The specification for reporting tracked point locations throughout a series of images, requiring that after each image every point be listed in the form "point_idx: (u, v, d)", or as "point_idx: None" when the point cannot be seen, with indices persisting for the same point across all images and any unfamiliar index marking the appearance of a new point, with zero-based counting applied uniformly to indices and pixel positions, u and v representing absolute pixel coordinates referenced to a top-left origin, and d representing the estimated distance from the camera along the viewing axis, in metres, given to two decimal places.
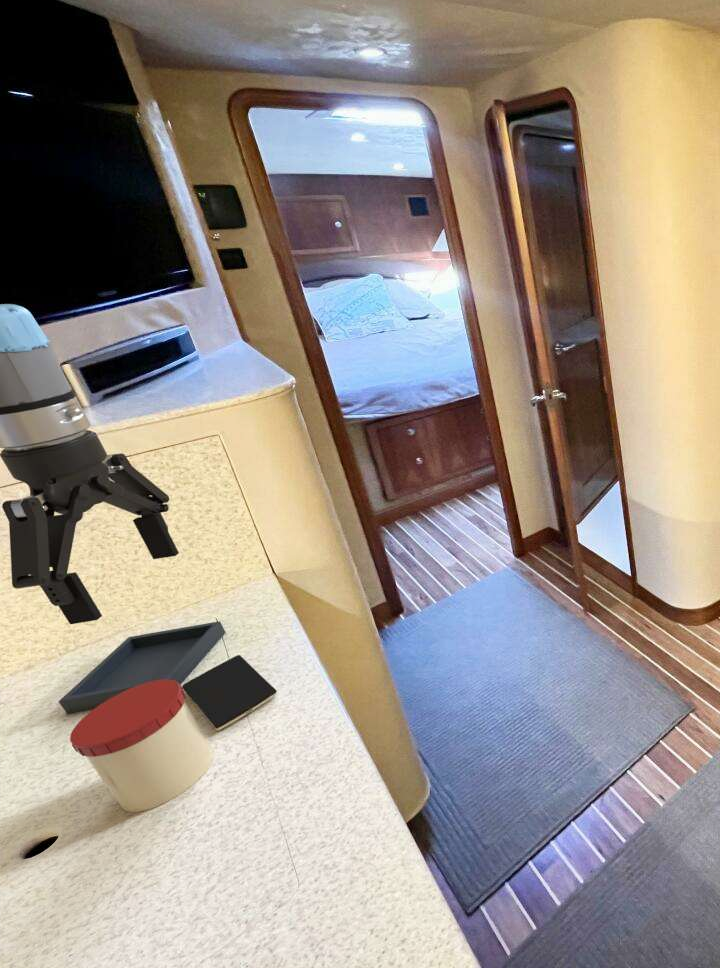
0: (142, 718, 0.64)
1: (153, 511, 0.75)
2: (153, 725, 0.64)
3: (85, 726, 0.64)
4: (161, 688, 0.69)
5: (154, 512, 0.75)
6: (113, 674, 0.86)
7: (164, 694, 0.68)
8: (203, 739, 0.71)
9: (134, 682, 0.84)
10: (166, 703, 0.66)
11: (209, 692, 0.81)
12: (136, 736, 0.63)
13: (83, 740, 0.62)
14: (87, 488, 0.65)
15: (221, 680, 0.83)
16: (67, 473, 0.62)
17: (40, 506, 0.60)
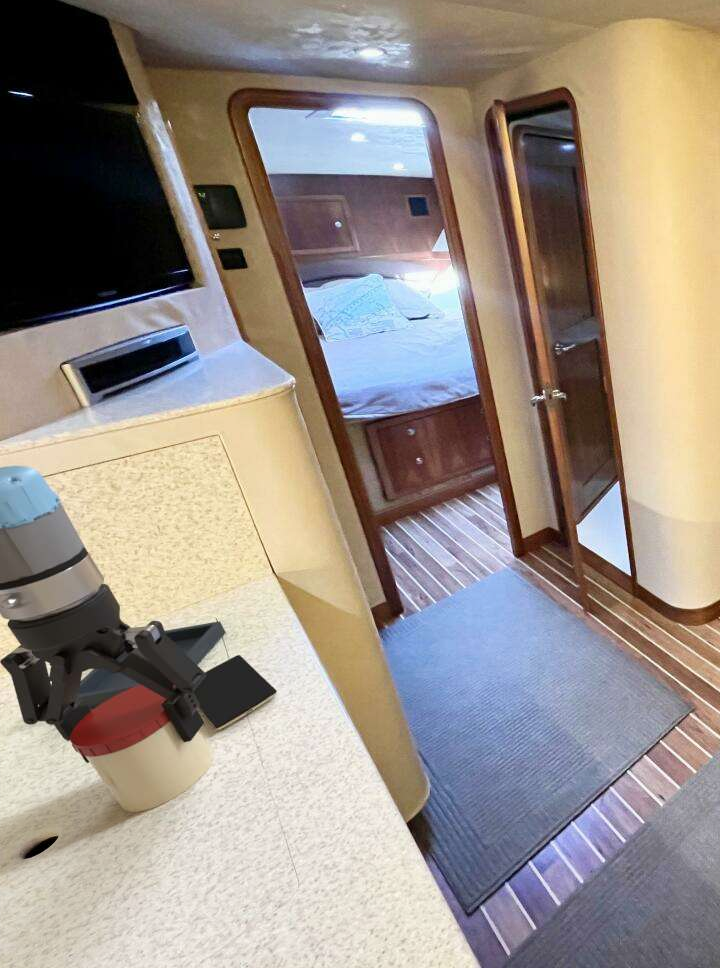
0: (142, 718, 0.64)
1: (165, 696, 0.65)
2: (153, 725, 0.64)
3: (85, 726, 0.64)
4: None
5: None
6: (113, 674, 0.86)
7: None
8: (203, 739, 0.71)
9: (134, 682, 0.84)
10: None
11: (209, 692, 0.81)
12: (136, 736, 0.63)
13: (83, 740, 0.62)
14: (61, 659, 0.60)
15: (221, 680, 0.83)
16: None
17: (15, 665, 0.59)
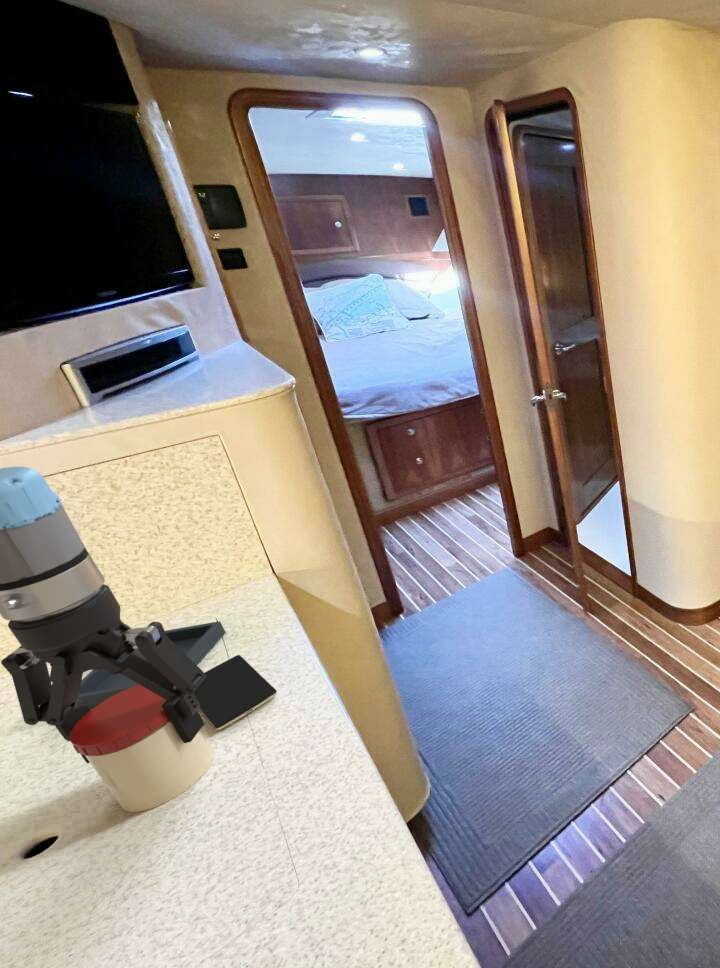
0: None
1: (165, 697, 0.65)
2: None
3: (124, 728, 0.63)
4: (104, 706, 0.66)
5: None
6: (113, 674, 0.86)
7: (122, 697, 0.67)
8: (203, 739, 0.71)
9: (134, 682, 0.84)
10: None
11: (209, 692, 0.81)
12: None
13: (155, 712, 0.65)
14: (61, 660, 0.60)
15: (221, 680, 0.83)
16: None
17: (15, 666, 0.59)
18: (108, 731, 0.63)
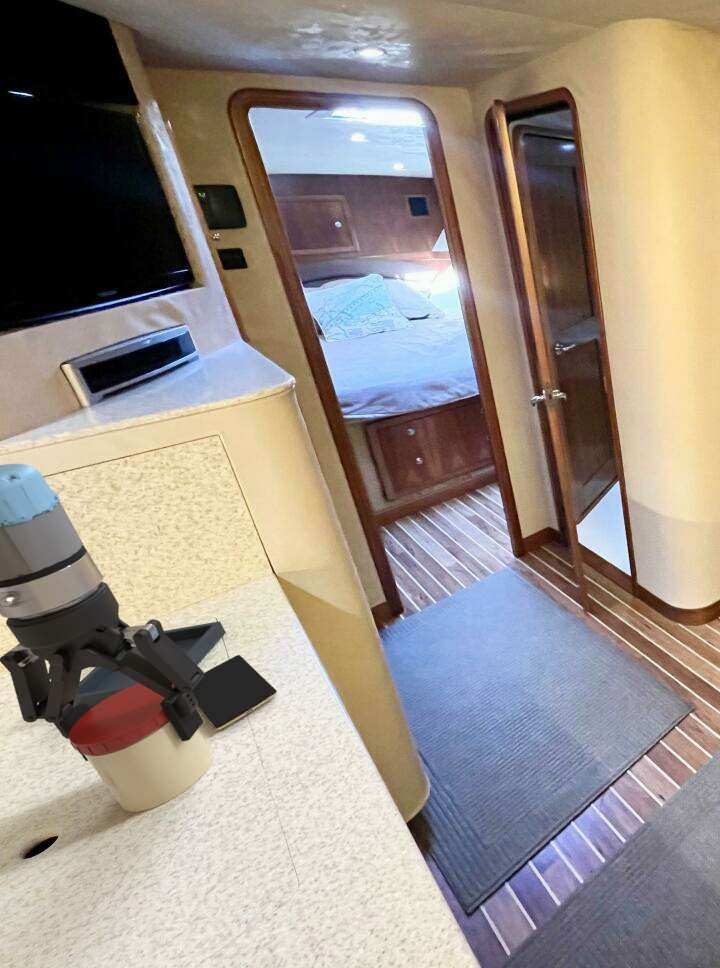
0: (102, 708, 0.66)
1: (164, 695, 0.65)
2: None
3: None
4: (95, 734, 0.62)
5: None
6: (113, 674, 0.86)
7: (87, 730, 0.63)
8: (203, 739, 0.71)
9: (134, 682, 0.84)
10: (79, 724, 0.64)
11: (209, 692, 0.81)
12: None
13: None
14: (60, 658, 0.60)
15: (221, 680, 0.83)
16: None
17: (14, 663, 0.59)
18: (159, 699, 0.67)
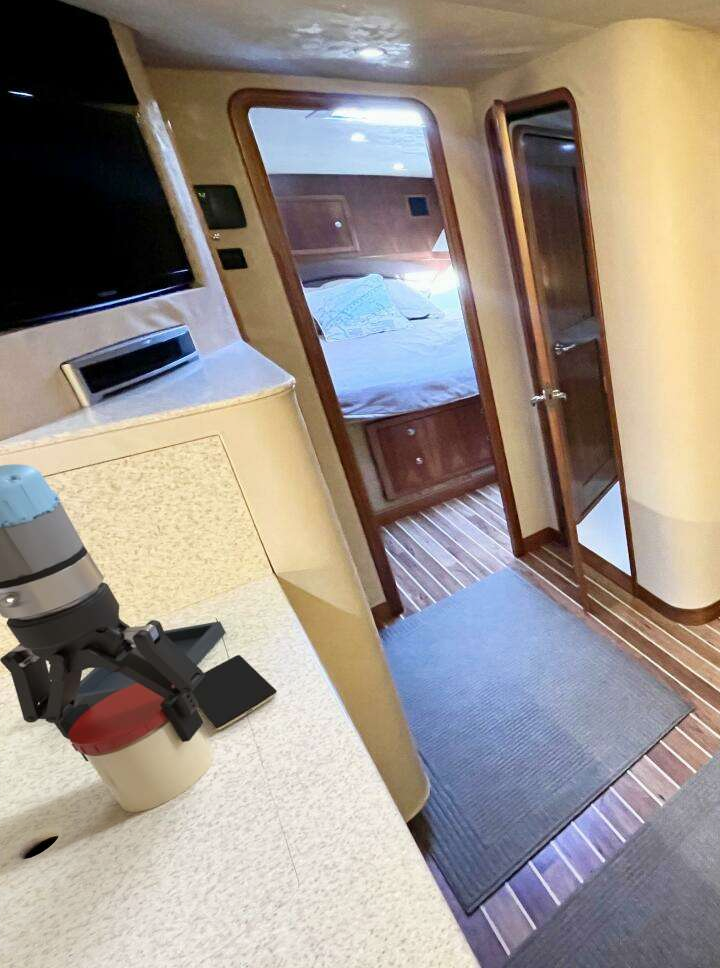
0: (97, 732, 0.62)
1: (164, 696, 0.65)
2: (90, 748, 0.61)
3: (116, 696, 0.67)
4: (156, 704, 0.66)
5: None
6: (113, 674, 0.86)
7: (141, 715, 0.64)
8: (203, 739, 0.71)
9: (134, 682, 0.84)
10: (117, 731, 0.62)
11: (209, 692, 0.81)
12: (79, 748, 0.61)
13: (87, 714, 0.65)
14: (60, 658, 0.60)
15: (221, 679, 0.83)
16: None
17: (14, 663, 0.59)
18: (133, 691, 0.68)
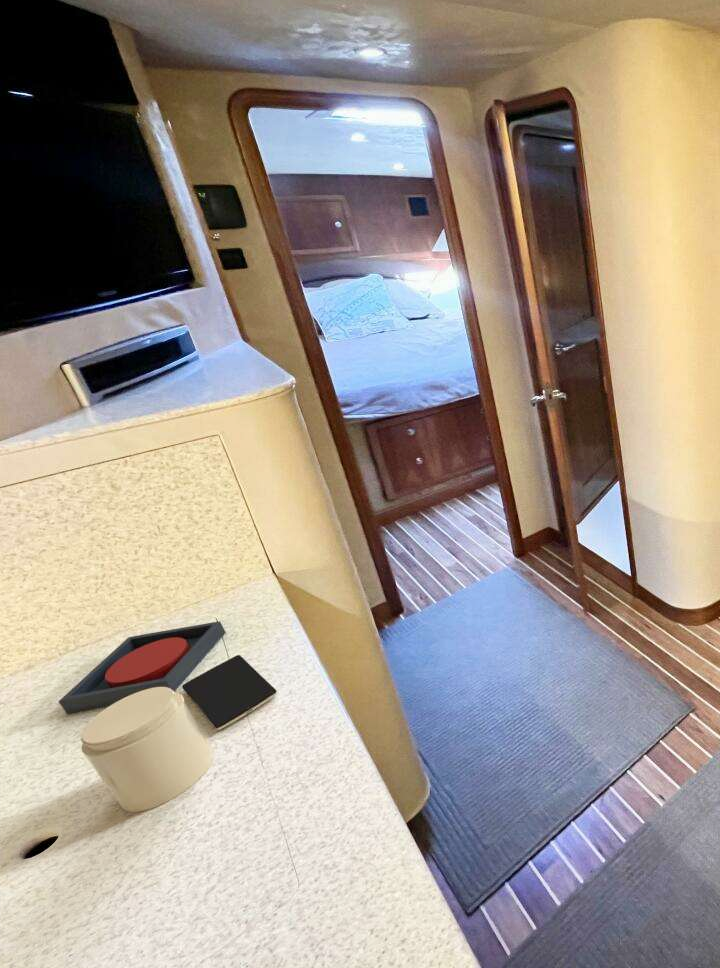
0: (165, 643, 0.90)
1: None
2: None
3: (155, 666, 0.85)
4: (123, 661, 0.86)
5: None
6: None
7: (134, 654, 0.88)
8: (203, 739, 0.71)
9: None
10: (151, 644, 0.90)
11: (209, 692, 0.81)
12: None
13: (175, 654, 0.87)
14: None
15: (221, 680, 0.83)
16: None
17: None
18: (141, 670, 0.84)
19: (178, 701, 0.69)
